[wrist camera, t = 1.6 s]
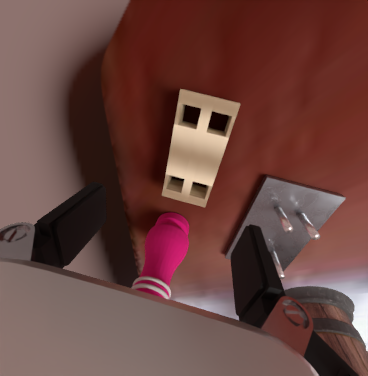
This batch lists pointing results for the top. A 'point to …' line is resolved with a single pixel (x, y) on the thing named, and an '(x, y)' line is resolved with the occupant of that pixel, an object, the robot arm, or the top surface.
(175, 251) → the pepper mill
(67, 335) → the robot arm
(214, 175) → the tan rectangular block
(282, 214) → the chassis
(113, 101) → the top surface
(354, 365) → the tankard
